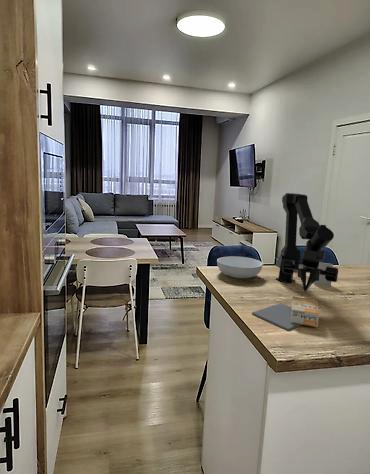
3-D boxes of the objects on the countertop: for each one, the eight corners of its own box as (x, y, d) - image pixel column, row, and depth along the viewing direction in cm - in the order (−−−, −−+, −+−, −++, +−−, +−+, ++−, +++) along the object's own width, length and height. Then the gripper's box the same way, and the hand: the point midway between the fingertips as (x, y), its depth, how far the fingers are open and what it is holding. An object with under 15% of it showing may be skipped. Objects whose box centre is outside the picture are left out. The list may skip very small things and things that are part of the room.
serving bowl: (245, 268, 168) (247, 255, 166) (270, 281, 148) (272, 266, 147) (208, 270, 160) (209, 256, 159) (229, 284, 141) (230, 268, 140)
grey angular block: (330, 287, 145) (333, 265, 143) (314, 285, 147) (317, 263, 145) (329, 284, 149) (332, 263, 147) (313, 282, 150) (316, 261, 148)
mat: (280, 304, 121) (280, 303, 121) (316, 318, 110) (316, 317, 110) (251, 314, 111) (252, 312, 111) (287, 330, 100) (288, 328, 100)
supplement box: (317, 299, 113) (320, 313, 101) (315, 312, 114) (318, 328, 102) (291, 295, 115) (292, 308, 103) (290, 308, 116) (290, 323, 104)
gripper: (285, 237, 120) (276, 274, 112) (342, 245, 112) (336, 285, 104) (286, 254, 128) (278, 289, 120) (339, 262, 120) (333, 301, 112)
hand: (304, 291), depth 114 cm, fingers closed
